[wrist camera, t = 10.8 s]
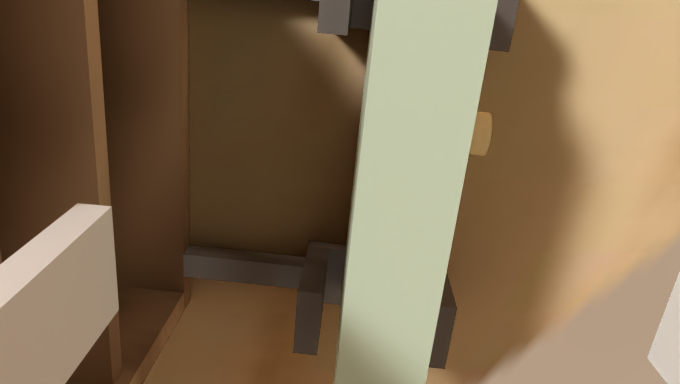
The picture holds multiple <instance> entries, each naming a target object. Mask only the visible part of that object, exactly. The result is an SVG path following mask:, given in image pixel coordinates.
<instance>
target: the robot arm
mask: <svg viewBox="0 0 680 384" xmlns="http://www.w3.org/2000/svg"><path fill="white" fill-rule="evenodd" d="M118 310H119V304H118V289H117V275H116V261H115V247H114V232H113V218H112V206H102V205H91V204H81V203H77V204H76V205H75V206H74V207H72V208H71V209H70V210H69V211H67V212H66V213H65V214H63V215H62V216H61V217H60V218H58V219H57V220H56V221H55V222H53V223H52V224H51V225H50V226H48V227H47V228H46V229H45V230H43V231H42V232H41V233H39V234H38V235H37V236H36V237H34V238H33V239H32V240H31V241H29V242H28V243H27V244H26V245H24V246H23V247H22V248H20V249H19V250H18V251H17V252H15V253H14V254H13V255H12V256H10V257H9V258H8V259H7V260H5V261H4V262H3V263H1V264H0V384H65V383H66V382H67V381H68V379H69V378H70V377H71V375H72V374H73V372H74V371H75V370H76V368H77V367H78V365H79V364H80V363H81V361H82V360H83V359H84V357H85V356H86V354H87V353H88V352H89V350H90V349H91V347H92V346H93V345H94V343H95V342H96V341H97V339H98V338H99V336H100V335H101V334H102V332H103V331H104V329H105V328H106V327H107V325H108V324H109V323H110V321H111V320H112V318H113V317H114V316H115V314H116V313H117V312H118ZM647 359H648V360H649V361H650V362H651V363H652V365H653V366H654V367H655V369H656V370H657V371H658V372H659V374H660V375H661V376H662V378H663V379H664V380H665V381H666V383H667V384H680V272H679V274H678V277H677V280H676V282H675V285H674V288H673V290H672V293H671V296H670V299H669V301H668V304H667V307H666V309H665V312H664V314H663V317H662V320H661V322H660V325H659V328H658V331H657V333H656V336H655V338H654V341H653V344H652V346H651V349H650V352H649V355H648V357H647Z"/></svg>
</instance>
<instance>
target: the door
mask: <svg viewBox="0 0 680 384" xmlns="http://www.w3.org/2000/svg"><path fill="white" fill-rule="evenodd" d="M497 3H498V0H373V4H372V13H371V22H370V31H369V40H368V50H367V59H366V68H365V77H364V86H363V95H362V104H361V114H360V123H359V132H358V141H357V150H356V159H355V169H354V178H353V187H352V196H351V205H350V214H349V224H348V233H347V242H346V251H345V260H344V269H343V278H342V288H341V300H340V313H339V326H338V338H337V351H336V363H335V376H334V384H426V378H427V373H428V368H429V362H430V357H431V352H432V347H433V341H434V336H435V331H436V325H437V320H438V315H439V310H440V304H441V299H442V294H443V289H444V283H445V278H446V273H447V267H448V262H449V257H450V252H451V246H452V241H453V236H454V230H455V225H456V220H457V215H458V209H459V204H460V199H461V193H462V188H463V183H464V178H465V172H466V167H467V162H468V157H469V154H470V155H479V156H484V155H485V154H486V153H487V150H488V148H489V144H490V140H491V134H492V116H491V114H490V113H489V112H480V111H477V109H478V104H479V98H480V93H481V88H482V83H483V77H484V72H485V67H486V61H487V56H488V51H489V46H490V40H491V35H492V30H493V25H494V19H495V14H496V9H497Z"/></svg>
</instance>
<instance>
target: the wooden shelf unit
mask: <svg viewBox="0 0 680 384" xmlns="http://www.w3.org/2000/svg"><path fill="white" fill-rule="evenodd" d="M313 1H320V2H319V15H318V28H317V33H327V34H337V35H348V32H349V30H350V28H357V29H367V30H370V22H371V13H372V4H373V0H313ZM518 5H519V0H498V3H497V9H496V14H495V19H494V25H493V30H492V35H491V40H490V46H489V50H495V51H505V52H509V49H510V44H511V39H512V35H513V30H514V25H515V20H516V15H517V10H518ZM77 203H81V204H91V205H102V206H112V218H113V232H114V247H115V261H116V275H117V289H118V304H119V310H118V312H117V313H116V314H115V316H114V317H113V318H112V320H111V321H110V323H109V324H108V325H107V327H106V328H105V329H104V331H103V332H102V334H101V335H100V336H99V338H98V339H97V341H96V342H95V343H94V345H93V346H92V347H91V349H90V350H89V352H88V353H87V354H86V356H85V357H84V359H83V360H82V361H81V363H80V364H79V365H78V367H77V368H76V370H75V371H74V372H73V374H72V375H71V377H70V378H69V379H68V381H67V382H66V383H65V384H143V382H144V380H145V378H146V377H147V375H148V373H149V371H150V370H151V368H152V366H153V364H154V362H155V361H156V359H157V357H158V355H159V354H160V352H161V350H162V348H163V347H164V345H165V343H166V341H167V340H168V338H169V336H170V334H171V333H172V331H173V329H174V327H175V325H176V324H177V322H178V320H179V318H180V317H181V315H182V313H183V311H184V310H185V308H186V306H187V304H188V303H189V301H190V277H192V278H201V279H211V280H220V281H230V282H239V283H249V284H258V285H268V286H277V287H287V288H296V289H298V295H297V308H296V321H295V335H294V348H293V353H299V354H309V355H317V350H318V342H319V335H320V327H321V320H322V312H323V305H324V303H329V304H339V305H340V300H341V288H342V278H343V269H344V260H345V251H346V245H345V244H335V243H326V242H316V241H309V244H308V248H307V252H306V257H300V256H291V255H281V254H272V253H262V252H253V251H243V250H234V249H224V248H214V247H205V246H195V245H190V204H189V98H188V0H0V264H1V263H3V262H4V261H5V260H7V259H8V258H9V257H10V256H12V255H13V254H14V253H15V252H17V251H18V250H19V249H20V248H22V247H23V246H24V245H26V244H27V243H28V242H29V241H31V240H32V239H33V238H34V237H36V236H37V235H38V234H39V233H41V232H42V231H43V230H45V229H46V228H47V227H48V226H50V225H51V224H52V223H53V222H55V221H56V220H57V219H58V218H60V217H61V216H62V215H63V214H65V213H66V212H67V211H69V210H70V209H71V208H72V207H74V206H75V205H76V204H77ZM456 310H457V307H456V303H455V300H454V296H453V293H452V289H451V286H450V283H449V279H448V276H447V273H446V278H445V283H444V289H443V294H442V299H441V304H440V310H439V315H438V320H437V325H436V331H435V336H434V341H433V347H432V352H431V357H430V362H429V367H431V368H441V369H445V364H446V360H447V355H448V350H449V345H450V340H451V335H452V330H453V325H454V320H455V315H456Z"/></svg>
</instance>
